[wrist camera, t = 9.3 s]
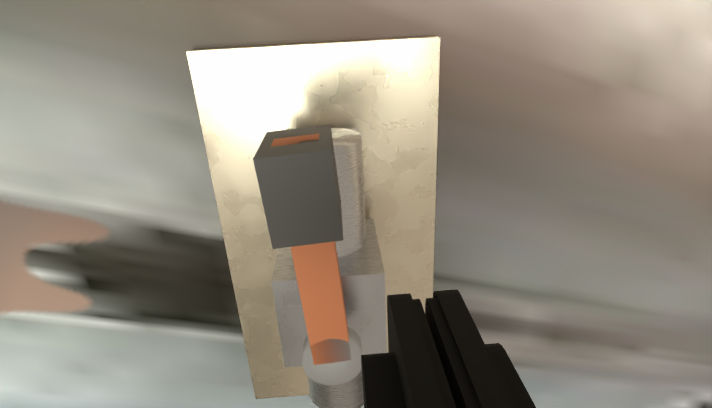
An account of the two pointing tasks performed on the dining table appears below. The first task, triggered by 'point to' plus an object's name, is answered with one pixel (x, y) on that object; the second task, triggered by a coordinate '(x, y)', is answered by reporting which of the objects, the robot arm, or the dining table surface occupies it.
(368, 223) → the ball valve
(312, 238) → the valve lever
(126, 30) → the dining table surface
